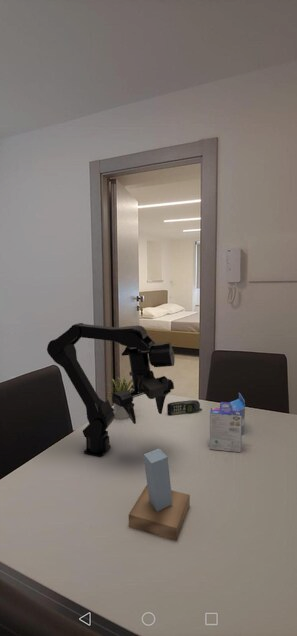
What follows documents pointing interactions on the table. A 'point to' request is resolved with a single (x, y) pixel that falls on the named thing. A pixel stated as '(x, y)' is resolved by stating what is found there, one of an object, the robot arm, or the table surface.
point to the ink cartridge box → (225, 428)
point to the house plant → (119, 411)
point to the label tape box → (239, 405)
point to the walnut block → (160, 515)
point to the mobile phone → (183, 407)
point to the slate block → (158, 479)
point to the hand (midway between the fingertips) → (147, 418)
